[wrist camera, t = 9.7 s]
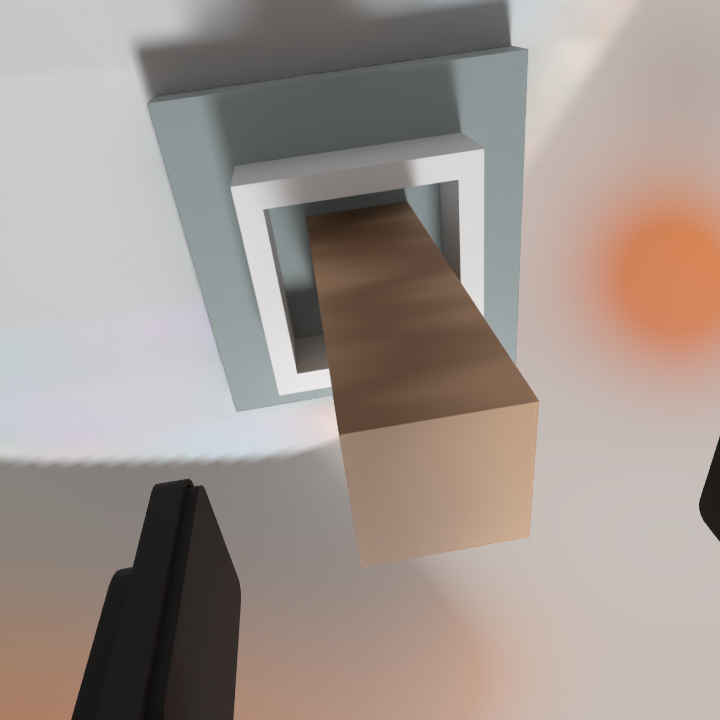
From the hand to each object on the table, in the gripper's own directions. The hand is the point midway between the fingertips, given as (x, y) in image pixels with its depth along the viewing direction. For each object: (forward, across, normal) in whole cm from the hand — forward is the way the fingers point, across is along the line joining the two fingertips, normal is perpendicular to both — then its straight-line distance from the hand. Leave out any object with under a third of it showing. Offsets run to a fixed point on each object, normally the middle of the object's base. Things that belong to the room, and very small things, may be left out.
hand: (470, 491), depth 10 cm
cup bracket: (+14, +1, +1) cm, 14 cm away
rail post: (+13, +1, +1) cm, 13 cm away
